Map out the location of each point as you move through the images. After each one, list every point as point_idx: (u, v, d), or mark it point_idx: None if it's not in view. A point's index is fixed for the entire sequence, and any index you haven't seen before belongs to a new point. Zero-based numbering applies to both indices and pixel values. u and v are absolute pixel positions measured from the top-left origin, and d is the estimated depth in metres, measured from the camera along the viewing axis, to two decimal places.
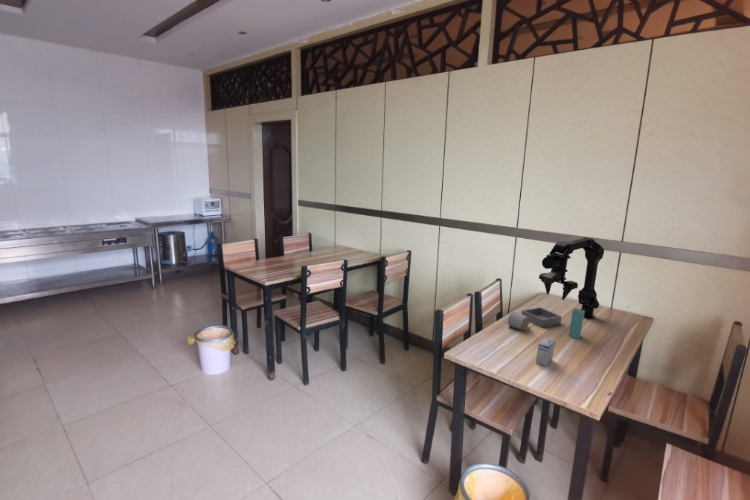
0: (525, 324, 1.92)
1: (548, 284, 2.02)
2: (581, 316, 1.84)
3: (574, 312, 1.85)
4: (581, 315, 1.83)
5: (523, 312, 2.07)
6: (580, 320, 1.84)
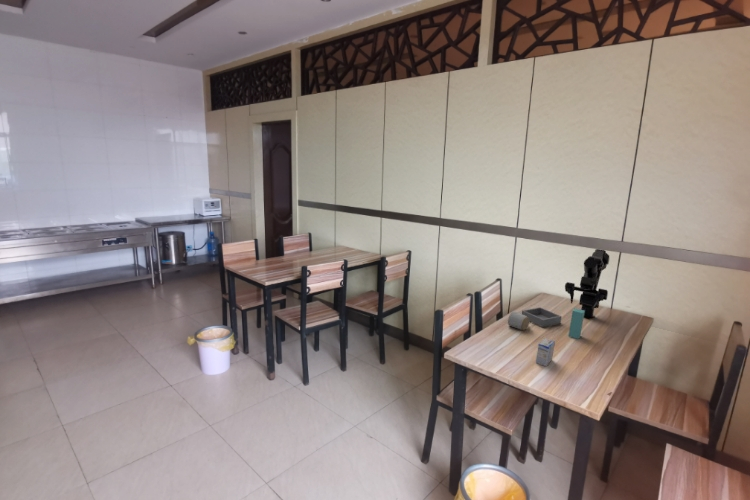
0: (525, 324, 1.92)
1: (573, 294, 1.97)
2: (581, 316, 1.84)
3: (574, 312, 1.85)
4: (581, 315, 1.83)
5: (523, 312, 2.07)
6: (580, 320, 1.84)
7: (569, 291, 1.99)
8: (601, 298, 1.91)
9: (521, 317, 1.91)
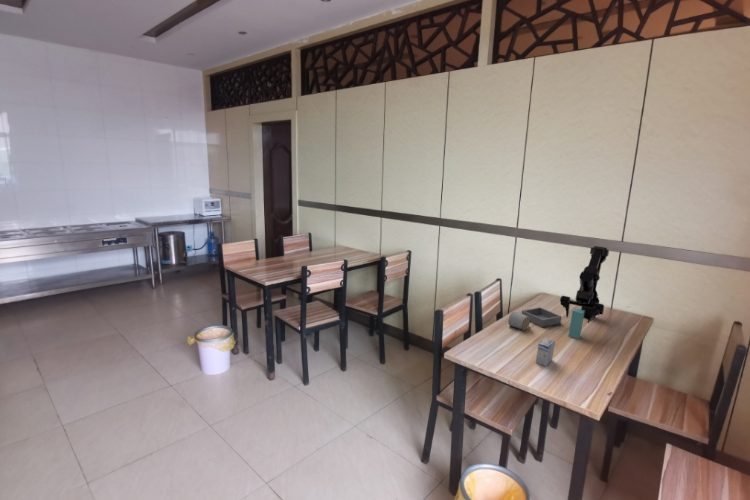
0: (526, 324, 1.92)
1: (568, 308, 1.92)
2: (581, 316, 1.84)
3: (574, 312, 1.85)
4: (581, 315, 1.83)
5: (523, 312, 2.07)
6: (580, 320, 1.84)
7: (564, 305, 1.94)
8: (597, 312, 1.86)
9: (521, 317, 1.92)
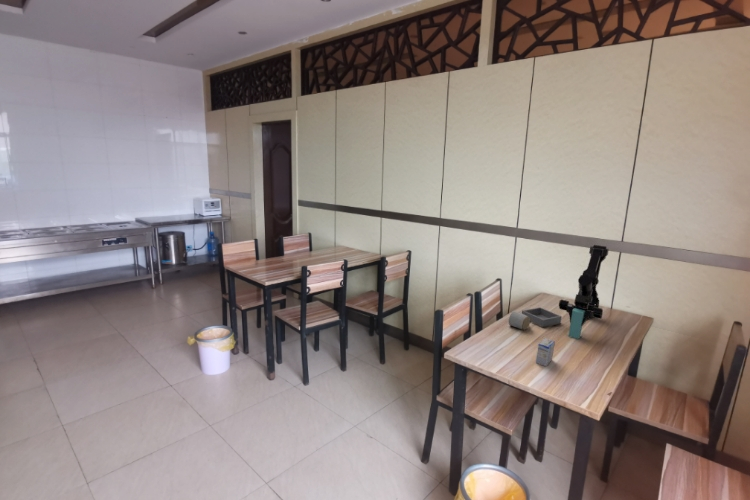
0: (526, 324, 1.92)
1: None
2: (581, 316, 1.84)
3: (574, 312, 1.85)
4: (581, 315, 1.83)
5: (523, 312, 2.07)
6: (580, 320, 1.84)
7: (568, 310, 1.92)
8: (591, 315, 1.86)
9: (522, 317, 1.92)
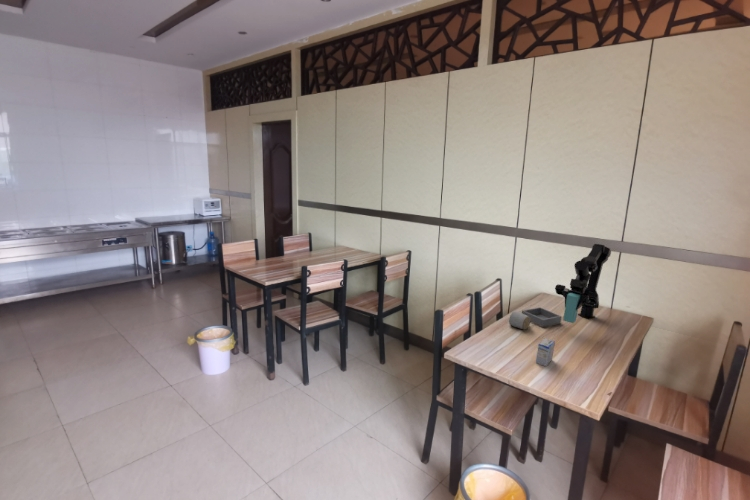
0: (526, 324, 1.92)
1: None
2: (575, 300, 1.85)
3: (569, 296, 1.86)
4: (575, 299, 1.84)
5: (523, 312, 2.07)
6: (574, 304, 1.85)
7: None
8: (586, 300, 1.87)
9: (522, 317, 1.92)
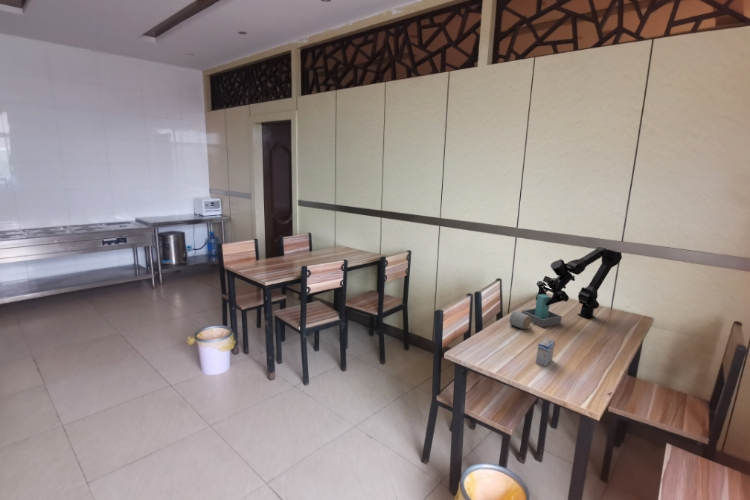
0: (527, 324, 1.93)
1: (542, 292, 2.08)
2: (542, 300, 2.01)
3: (538, 296, 2.04)
4: (542, 299, 2.01)
5: (523, 312, 2.07)
6: (541, 304, 2.02)
7: None
8: (559, 298, 1.98)
9: (523, 316, 1.92)
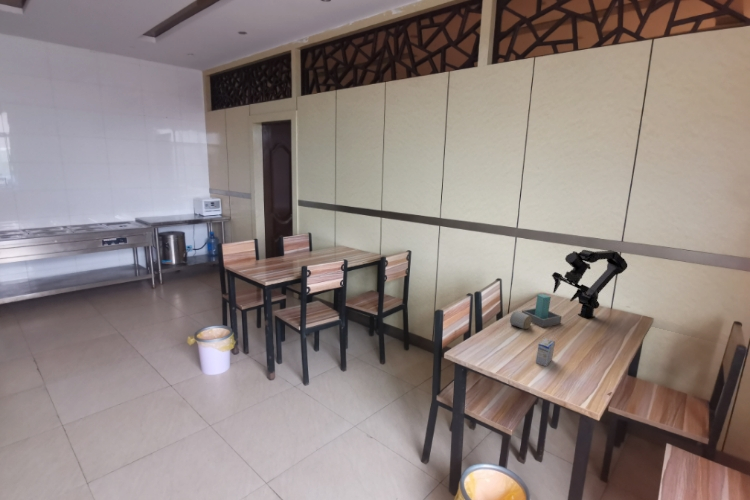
0: (527, 323, 1.93)
1: (558, 284, 2.08)
2: (542, 300, 2.01)
3: (538, 296, 2.04)
4: (542, 299, 2.01)
5: (523, 312, 2.07)
6: (541, 304, 2.02)
7: None
8: (582, 293, 2.00)
9: (523, 316, 1.93)
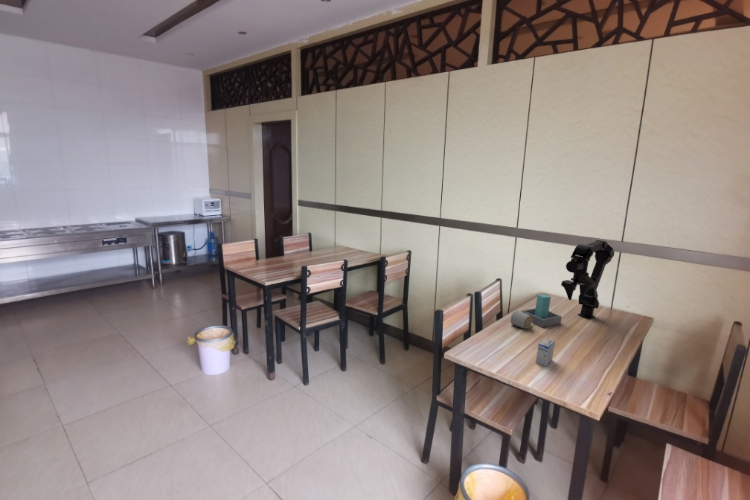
0: (528, 323, 1.93)
1: None
2: (542, 300, 2.01)
3: (538, 296, 2.04)
4: (542, 299, 2.01)
5: (523, 312, 2.07)
6: (541, 304, 2.02)
7: None
8: None
9: (524, 316, 1.93)
